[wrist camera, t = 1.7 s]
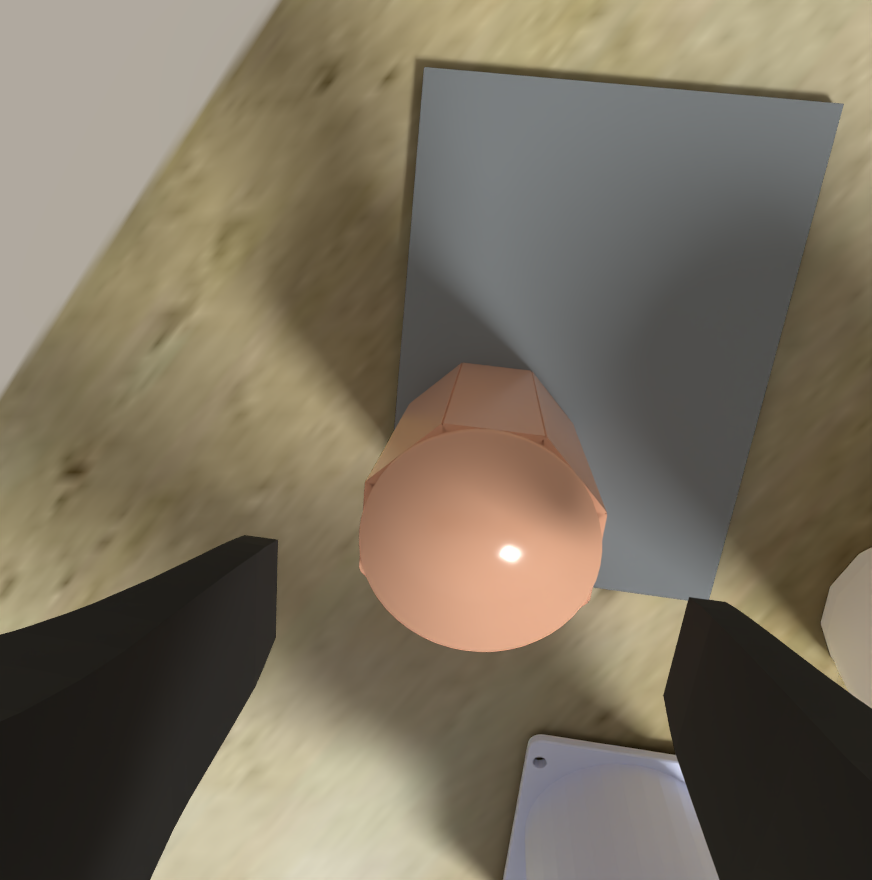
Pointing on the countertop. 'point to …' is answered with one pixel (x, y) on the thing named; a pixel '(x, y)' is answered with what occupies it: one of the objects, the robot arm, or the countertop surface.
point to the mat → (618, 282)
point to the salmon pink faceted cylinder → (482, 514)
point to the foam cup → (852, 626)
